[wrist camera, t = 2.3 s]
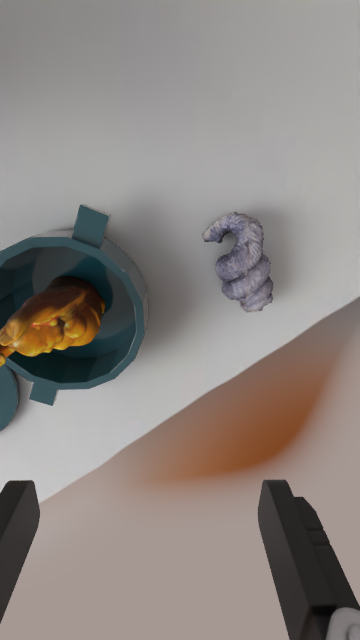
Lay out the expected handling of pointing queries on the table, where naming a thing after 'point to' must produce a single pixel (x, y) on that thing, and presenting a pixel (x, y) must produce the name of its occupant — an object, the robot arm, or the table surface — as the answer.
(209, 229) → the seashell
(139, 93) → the table surface
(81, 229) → the pot
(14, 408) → the lid
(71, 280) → the figurine
